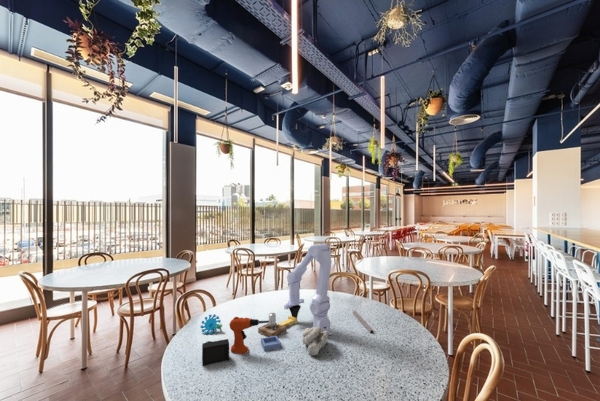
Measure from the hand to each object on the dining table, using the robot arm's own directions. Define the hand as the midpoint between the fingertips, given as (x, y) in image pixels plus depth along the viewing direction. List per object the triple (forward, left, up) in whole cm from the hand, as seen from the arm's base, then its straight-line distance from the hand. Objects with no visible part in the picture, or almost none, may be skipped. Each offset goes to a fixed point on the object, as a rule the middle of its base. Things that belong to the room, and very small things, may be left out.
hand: (294, 318), depth 147 cm
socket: (-7, +13, -1) cm, 15 cm away
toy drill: (-24, +29, -2) cm, 37 cm away
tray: (-22, +19, -1) cm, 29 cm away
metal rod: (-15, -34, -2) cm, 37 cm away
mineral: (-31, +1, -2) cm, 31 cm away
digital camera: (-25, +43, -2) cm, 50 cm away
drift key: (-3, +6, -1) cm, 7 cm away
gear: (+4, +44, -2) cm, 44 cm away
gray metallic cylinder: (-9, +15, -1) cm, 17 cm away
